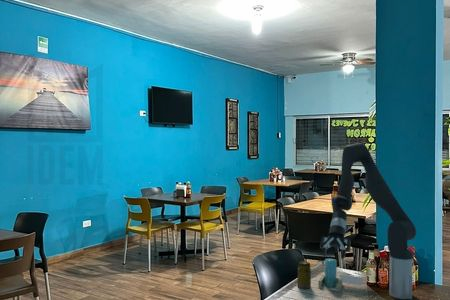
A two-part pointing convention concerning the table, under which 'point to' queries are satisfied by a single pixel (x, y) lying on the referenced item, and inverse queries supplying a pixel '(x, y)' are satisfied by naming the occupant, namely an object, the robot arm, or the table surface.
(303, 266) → the condiment
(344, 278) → the mat
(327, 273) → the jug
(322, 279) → the holder
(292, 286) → the table surface
